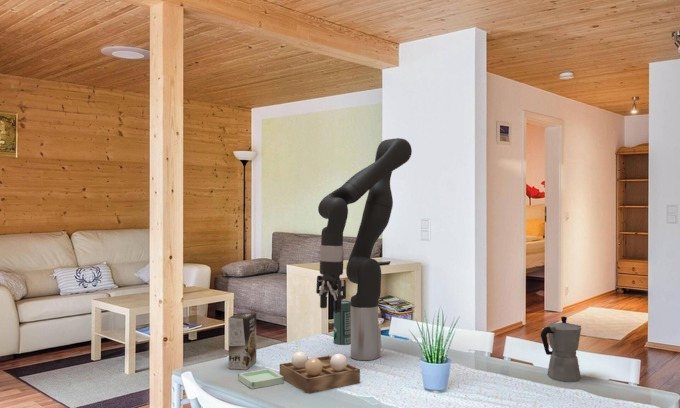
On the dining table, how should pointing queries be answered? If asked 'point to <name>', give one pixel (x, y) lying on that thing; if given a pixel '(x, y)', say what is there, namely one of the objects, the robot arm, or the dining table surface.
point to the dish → (260, 378)
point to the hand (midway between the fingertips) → (330, 310)
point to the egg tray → (320, 376)
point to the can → (343, 324)
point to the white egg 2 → (338, 362)
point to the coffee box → (242, 341)
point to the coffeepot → (562, 350)
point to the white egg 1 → (299, 359)
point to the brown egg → (313, 366)
